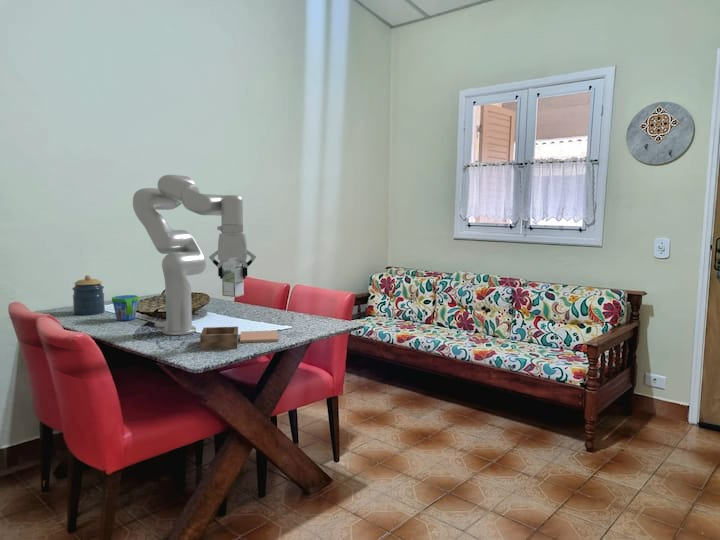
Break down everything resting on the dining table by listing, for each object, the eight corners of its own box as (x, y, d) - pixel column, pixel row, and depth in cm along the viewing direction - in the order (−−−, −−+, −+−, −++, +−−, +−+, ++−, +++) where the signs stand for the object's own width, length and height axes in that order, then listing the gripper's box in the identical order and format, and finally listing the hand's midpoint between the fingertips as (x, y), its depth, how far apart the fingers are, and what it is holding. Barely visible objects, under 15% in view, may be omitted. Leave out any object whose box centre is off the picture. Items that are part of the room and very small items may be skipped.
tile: (239, 342, 186) (239, 340, 185) (240, 333, 199) (240, 331, 199) (278, 341, 188) (278, 338, 188) (276, 332, 202) (276, 330, 202)
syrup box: (244, 295, 186) (244, 255, 185) (234, 297, 181) (234, 257, 179) (231, 293, 188) (231, 255, 187) (221, 296, 183) (221, 256, 181)
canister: (78, 310, 240) (76, 273, 238) (107, 309, 243) (106, 273, 241) (69, 316, 228) (67, 277, 226) (101, 315, 231) (99, 276, 229)
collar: (200, 349, 176) (200, 335, 175) (203, 340, 188) (203, 327, 187) (237, 348, 178) (237, 334, 178) (238, 339, 190) (238, 326, 190)
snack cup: (111, 317, 226) (110, 294, 225) (136, 315, 231) (135, 293, 230) (114, 324, 213) (113, 300, 211) (141, 321, 218) (140, 298, 217)
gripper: (206, 229, 177) (207, 279, 179) (256, 230, 180) (257, 279, 182) (208, 229, 184) (209, 277, 186) (257, 229, 187) (257, 276, 189)
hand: (233, 278), depth 184 cm, fingers closed on syrup box, 7 cm apart
